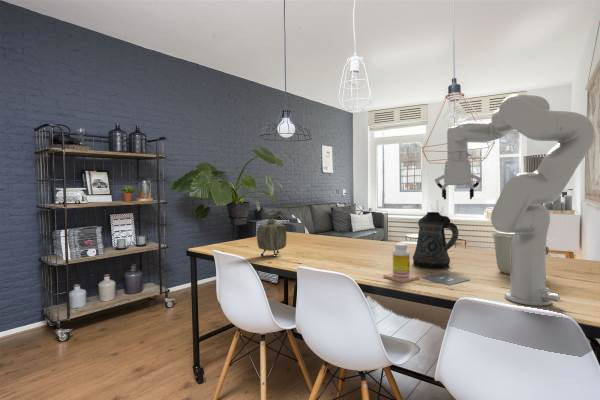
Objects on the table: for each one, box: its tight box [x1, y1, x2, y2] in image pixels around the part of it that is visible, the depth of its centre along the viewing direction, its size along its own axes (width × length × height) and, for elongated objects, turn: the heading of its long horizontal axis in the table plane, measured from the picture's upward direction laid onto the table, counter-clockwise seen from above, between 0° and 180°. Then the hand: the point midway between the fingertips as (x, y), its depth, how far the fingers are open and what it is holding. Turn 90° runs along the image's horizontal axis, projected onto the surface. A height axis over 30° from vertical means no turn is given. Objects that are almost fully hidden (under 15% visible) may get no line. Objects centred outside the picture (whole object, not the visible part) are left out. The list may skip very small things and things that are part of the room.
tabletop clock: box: [256, 210, 287, 257], centre depth 193 cm, size 14×9×25 cm, turn 130°
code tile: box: [420, 272, 471, 286], centre depth 140 cm, size 13×13×1 cm
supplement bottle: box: [392, 242, 411, 277], centre depth 142 cm, size 7×7×13 cm
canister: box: [491, 230, 514, 275], centre depth 147 cm, size 18×18×21 cm
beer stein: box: [412, 211, 459, 270], centre depth 164 cm, size 16×19×25 cm
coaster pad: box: [382, 272, 421, 283], centre depth 143 cm, size 10×10×1 cm
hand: (457, 199), depth 143 cm, fingers open, 9 cm apart
